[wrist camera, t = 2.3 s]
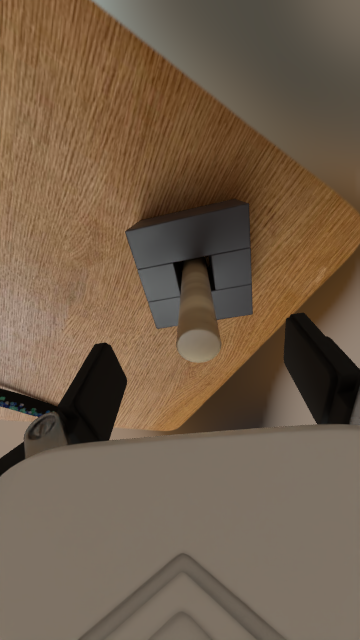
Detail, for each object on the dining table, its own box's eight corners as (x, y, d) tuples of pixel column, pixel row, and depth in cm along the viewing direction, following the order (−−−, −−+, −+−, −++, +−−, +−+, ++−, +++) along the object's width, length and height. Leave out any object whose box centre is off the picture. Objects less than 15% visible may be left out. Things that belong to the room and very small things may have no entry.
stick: (181, 249, 24) (171, 332, 11) (202, 245, 24) (218, 325, 10) (185, 269, 26) (181, 365, 12) (205, 265, 25) (223, 360, 12)
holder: (139, 220, 23) (124, 231, 18) (235, 198, 21) (249, 202, 16) (162, 303, 28) (156, 329, 23) (240, 289, 27) (252, 314, 22)
